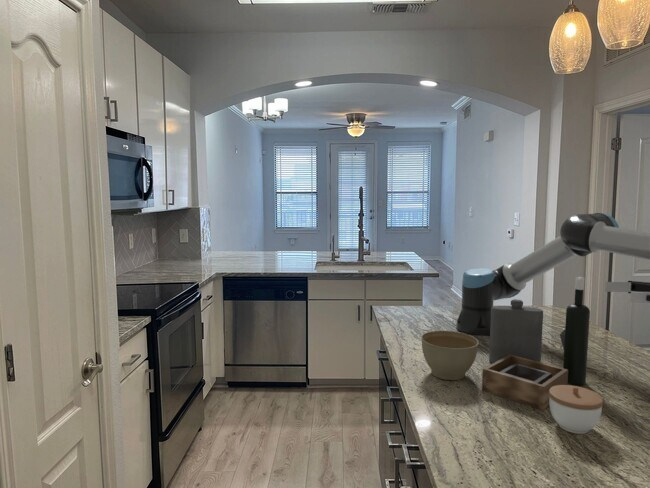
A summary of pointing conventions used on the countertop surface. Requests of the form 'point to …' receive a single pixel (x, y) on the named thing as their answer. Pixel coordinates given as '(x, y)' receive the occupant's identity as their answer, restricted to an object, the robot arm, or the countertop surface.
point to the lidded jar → (575, 408)
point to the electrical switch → (562, 338)
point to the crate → (523, 380)
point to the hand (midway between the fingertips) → (617, 291)
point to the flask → (515, 332)
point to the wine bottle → (576, 337)
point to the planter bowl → (449, 353)
